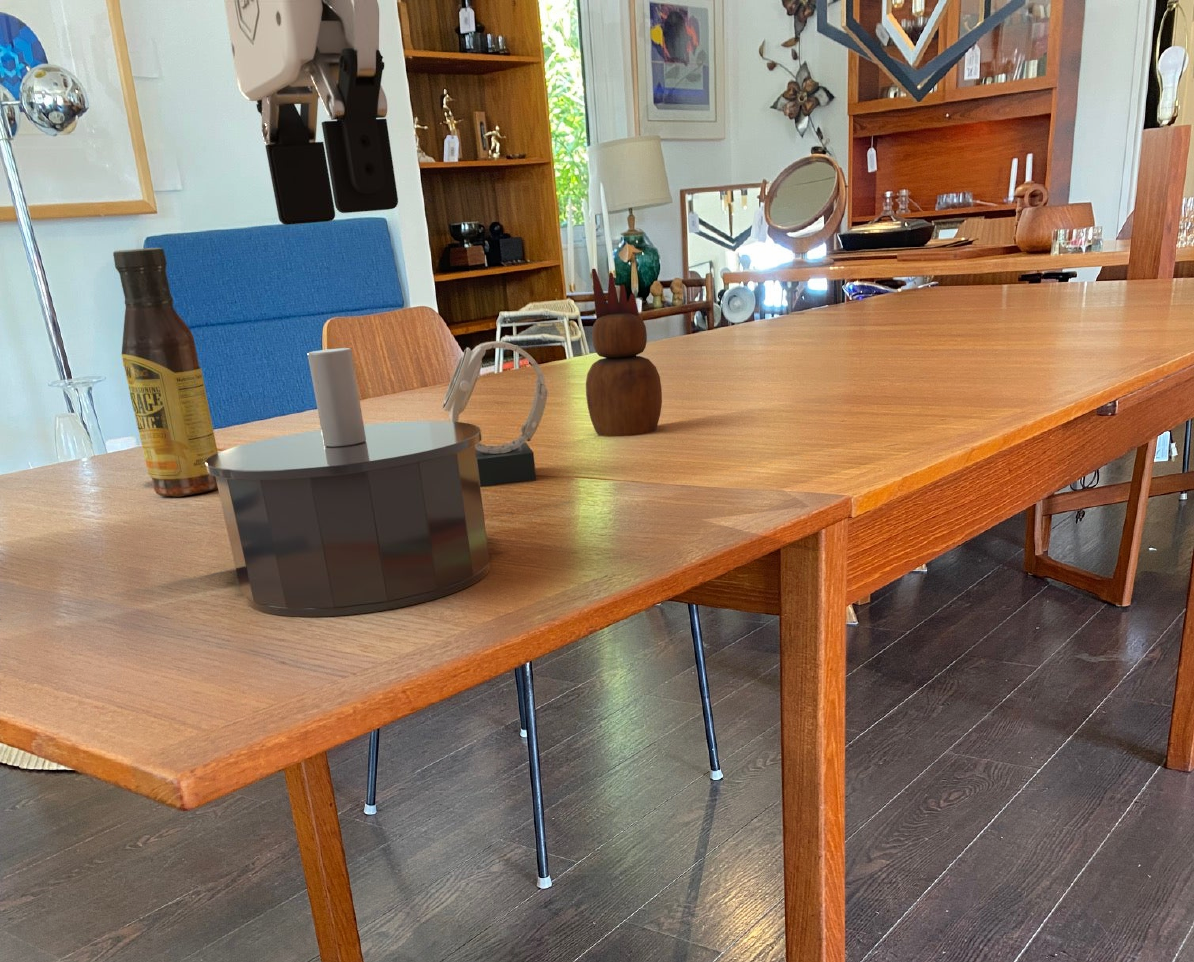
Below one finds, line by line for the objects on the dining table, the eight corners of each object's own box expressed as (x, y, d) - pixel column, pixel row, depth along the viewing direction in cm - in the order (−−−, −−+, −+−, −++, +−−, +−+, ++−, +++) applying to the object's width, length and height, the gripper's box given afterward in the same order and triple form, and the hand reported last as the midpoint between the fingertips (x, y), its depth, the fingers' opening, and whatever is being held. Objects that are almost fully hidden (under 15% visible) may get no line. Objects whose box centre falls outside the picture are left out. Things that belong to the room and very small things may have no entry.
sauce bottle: (143, 495, 105) (82, 253, 97) (207, 482, 109) (155, 248, 100) (172, 502, 101) (111, 249, 92) (239, 488, 104) (186, 243, 96)
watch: (453, 490, 94) (433, 346, 89) (551, 479, 95) (537, 335, 90) (456, 504, 89) (435, 351, 84) (560, 491, 90) (545, 339, 85)
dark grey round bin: (285, 634, 61) (255, 490, 58) (219, 582, 73) (190, 459, 70) (531, 577, 67) (516, 444, 64) (433, 538, 79) (416, 423, 76)
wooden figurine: (579, 448, 108) (563, 271, 102) (613, 437, 112) (600, 267, 106) (641, 449, 104) (629, 266, 98) (674, 437, 109) (664, 261, 102)
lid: (250, 505, 58) (223, 375, 55) (182, 470, 70) (157, 363, 67) (530, 454, 64) (517, 336, 61) (422, 431, 77) (408, 332, 74)
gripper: (153, -131, 61) (227, 231, 68) (240, -260, 47) (320, 211, 54) (292, -124, 64) (348, 222, 71) (411, -243, 50) (465, 200, 58)
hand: (336, 217), depth 63 cm, fingers open, 9 cm apart
